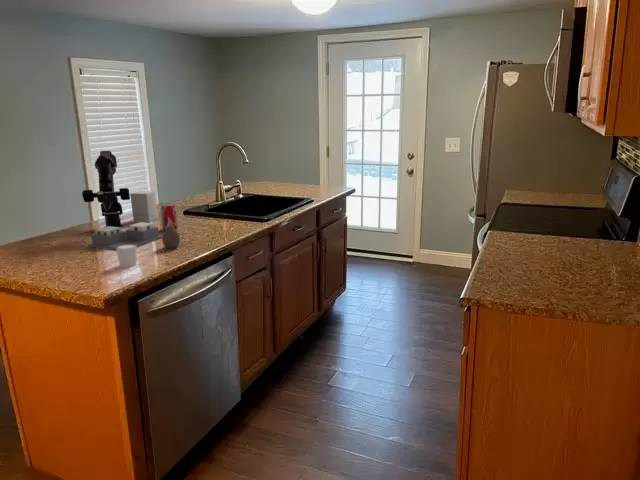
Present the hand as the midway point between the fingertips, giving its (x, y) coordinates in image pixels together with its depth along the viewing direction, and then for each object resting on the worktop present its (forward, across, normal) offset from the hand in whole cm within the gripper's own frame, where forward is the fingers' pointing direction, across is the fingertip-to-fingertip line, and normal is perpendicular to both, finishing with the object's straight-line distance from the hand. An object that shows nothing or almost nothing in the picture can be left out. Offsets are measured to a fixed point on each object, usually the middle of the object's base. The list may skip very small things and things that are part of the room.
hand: (107, 211), depth 212 cm
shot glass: (+38, -8, +20) cm, 44 cm away
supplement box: (-15, -15, -34) cm, 40 cm away
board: (+14, -7, -5) cm, 16 cm away
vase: (+25, -24, +7) cm, 35 cm away
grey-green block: (+14, 0, -3) cm, 14 cm away
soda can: (+2, -26, -17) cm, 31 cm away
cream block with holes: (+12, -13, -5) cm, 18 cm away
